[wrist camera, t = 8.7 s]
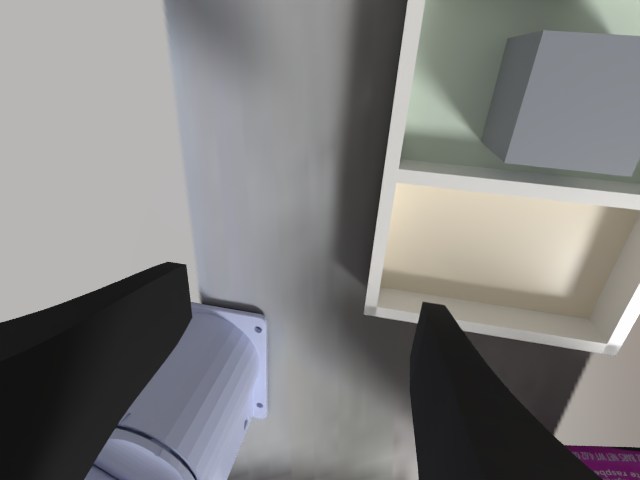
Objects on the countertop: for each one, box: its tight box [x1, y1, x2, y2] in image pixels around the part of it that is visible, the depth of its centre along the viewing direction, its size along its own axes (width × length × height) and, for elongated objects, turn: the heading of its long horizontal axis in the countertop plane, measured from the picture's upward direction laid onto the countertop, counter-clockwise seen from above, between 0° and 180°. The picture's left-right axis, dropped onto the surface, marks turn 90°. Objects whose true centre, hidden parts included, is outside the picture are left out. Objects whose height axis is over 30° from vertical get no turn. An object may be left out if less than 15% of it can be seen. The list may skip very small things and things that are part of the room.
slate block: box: [481, 30, 640, 177], centre depth 13 cm, size 4×4×4 cm
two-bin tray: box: [364, 0, 640, 356], centre depth 16 cm, size 15×12×2 cm
